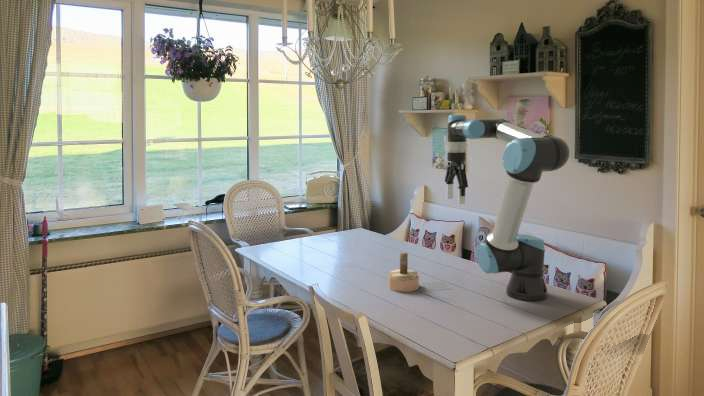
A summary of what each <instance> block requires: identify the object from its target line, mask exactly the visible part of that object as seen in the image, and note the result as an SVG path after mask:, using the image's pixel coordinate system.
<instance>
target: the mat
mask: <svg viewBox="0 0 704 396" xmlns="http://www.w3.org/2000/svg"><path fill="white" fill-rule="evenodd" d="M419 285H421V286H423V288H425V290H427V292H433V291H447V290H449V291H450V290H452V288H451V286H449V285H448V284H447V283H446V282H445V281H433V282H419Z"/></svg>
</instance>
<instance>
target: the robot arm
mask: <svg viewBox="0 0 704 396" xmlns="http://www.w3.org/2000/svg"><path fill="white" fill-rule="evenodd" d="M467 139H470V140H476V139H496V140H499V141H502V142H504V143H506V144H507V145H506V146H505V148H504V150H503V153H502V160H503V161H502V165H503V168H504V169H505V174H506V175H507V177H508V179H507V182H506V186H505V188H504V192H503V196H502V199H501V202H500V205H499V209H498V212H497V216H496V219H495V223H494V226H493V229H492V232H491V231H490V232H489V233H488V234H487V235H486V238H485V241H484V242H481V243H479V244H478V245H477V246H476V251H475V257H476V261H477V264H478V266H479V267H480V269H481V270H482V271H483V272H484V273H486V274H495V275H496V274H500V273H506V272H511V275H510V278H509V279H508V280H509V281H508V283H507V285H506V292H505V293H506V295H507V296H509V297H510V298H513V299H515V300H520V301H527V302H531V301H532V302H533V301H534V302H535V301H536V302H537V301H543V300H545V299H547V298H548V288H547V285H546V281H545V279H544V270H545V269H544V268H545V263H544V262H545V253H546V252H545V251H546V249H545V241H544V240H543V239H542V238H540V237H536V236H532V235H528V234H518V233H519V231H520V227H521V224H522V220H523V218H524V215H525V212H526V208H527V206H528V203H529V199H530V197H531V193H532V190H533V187H534V184H537V183H538V182H539V181H541V178H542V175H543V173H544V172H545V173H546V172H554V171H557V170H559V169H561V168H562V167H564V166H565V165H566V164H567V162H568V160H569V158H570V152H571V151H570V147H569V145H568V143H567V142H566V141H565V140H564V139H563V138H560V137H558V136H554V135H552V134H546V135H543V134H541V133H537V132H534V131H532V130H529V129H526V128H523V127H521V126H518V125H515V124H513V123H512V122H511V120H509V119H505V118H499V119H497V118H496V119H473V118H472V119H467V116H466V114H450V115H448V119H447V147H446V149H447V156H446V157H447V159H446V160H447V167H446V168H447V169H446V172H445V178H444V182H445V184H446V200H454V184H455V183H454V180H455V177H456V180H457V184H458V187H457V189H458V191H457V192H458V195H457V197H458V201H457V203H458V205H465V204H466V189H467V188H468V187H469V184H468V178H467V177H468V176H467V170H466V164H465V163H462V162H465V161H466V152H465V151H466V149H467V148H466V147H467Z"/></svg>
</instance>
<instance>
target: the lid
mask: <svg viewBox="0 0 704 396" xmlns="http://www.w3.org/2000/svg"><path fill="white" fill-rule="evenodd" d="M408 255H409V254H408V253H407V252H400V254H399V269H394V270H391V271H390V272H389V274H390V277H391V278H393V279H397V280H412V279H415V278H417V275H419V274H418V272H417V271H415V270H413V269H408V263H409V262H408V257H409V256H408Z"/></svg>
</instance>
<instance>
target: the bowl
mask: <svg viewBox="0 0 704 396" xmlns="http://www.w3.org/2000/svg"><path fill="white" fill-rule="evenodd" d="M387 287H388V288H389V290H392V291H395V292H401V293H402V292H403V293H404V292H414V291H417V290H418V289H419V288H420V276H419V274H417V278H415V279H412V280H397V279H393V278H391V277H390V273H389V274H388V275H387Z"/></svg>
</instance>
